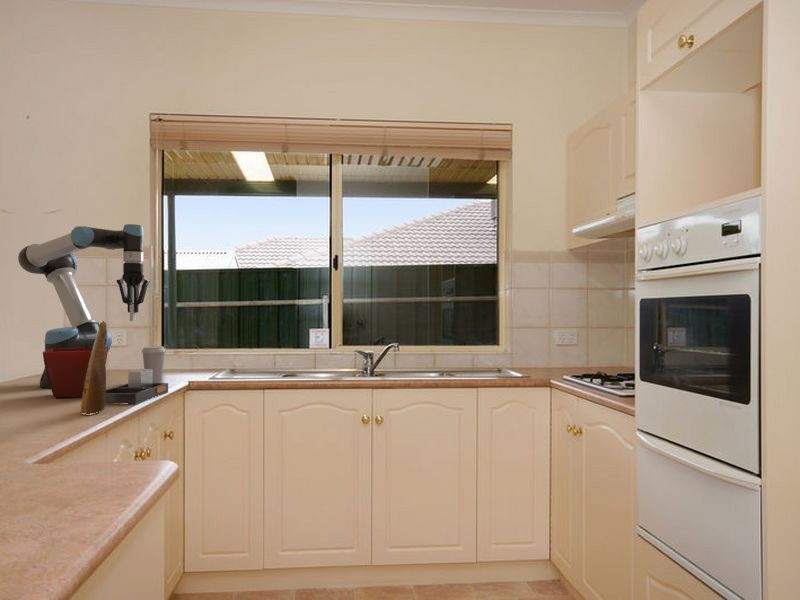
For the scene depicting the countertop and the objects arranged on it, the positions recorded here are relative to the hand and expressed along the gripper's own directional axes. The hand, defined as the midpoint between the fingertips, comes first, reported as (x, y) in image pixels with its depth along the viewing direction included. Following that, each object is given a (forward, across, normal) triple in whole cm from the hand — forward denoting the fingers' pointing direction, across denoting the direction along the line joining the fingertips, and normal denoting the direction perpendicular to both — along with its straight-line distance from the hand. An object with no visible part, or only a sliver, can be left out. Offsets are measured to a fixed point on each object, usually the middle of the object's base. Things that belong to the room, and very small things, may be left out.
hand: (132, 320), depth 249 cm
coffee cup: (+27, +4, +11) cm, 29 cm away
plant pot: (+27, -8, -26) cm, 39 cm away
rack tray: (+26, +14, -31) cm, 43 cm away
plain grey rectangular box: (+25, +14, -24) cm, 38 cm away
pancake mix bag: (+27, +15, -58) cm, 66 cm away
